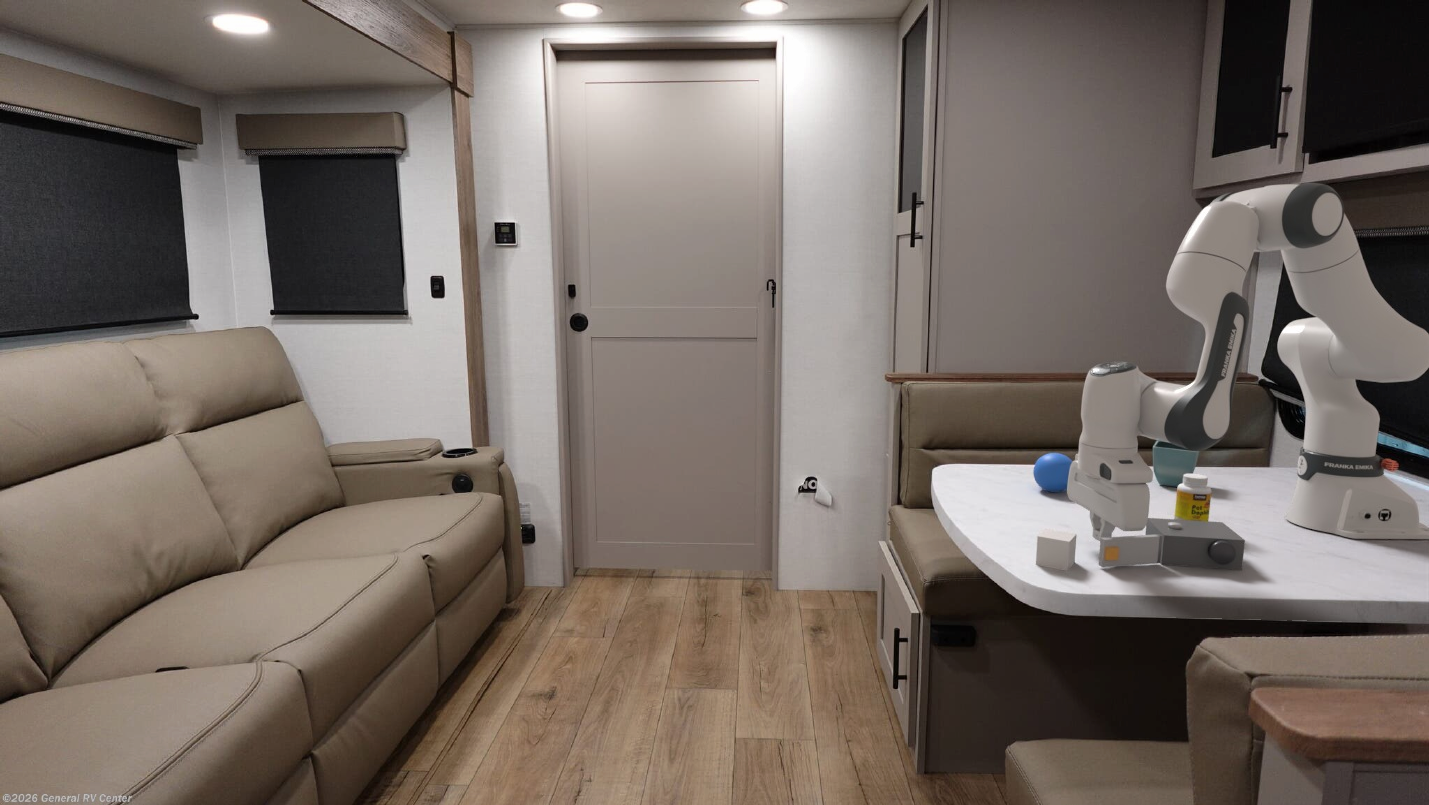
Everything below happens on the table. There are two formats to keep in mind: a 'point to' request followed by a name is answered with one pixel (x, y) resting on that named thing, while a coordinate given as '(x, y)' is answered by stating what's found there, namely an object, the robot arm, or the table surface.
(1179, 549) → the camera body
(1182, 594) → the table surface
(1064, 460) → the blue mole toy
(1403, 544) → the table surface
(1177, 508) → the supplement bottle
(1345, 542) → the table surface
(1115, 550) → the side door
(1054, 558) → the white cube
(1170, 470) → the flower pot
